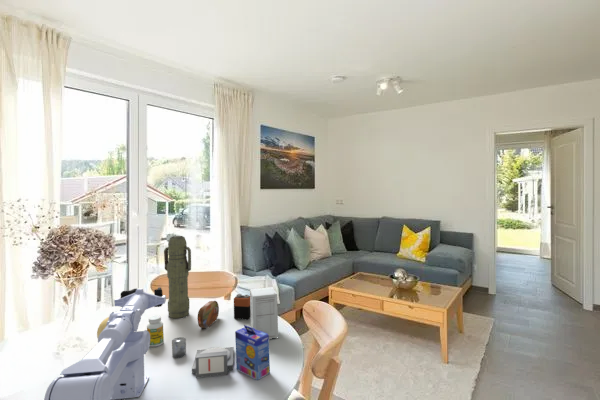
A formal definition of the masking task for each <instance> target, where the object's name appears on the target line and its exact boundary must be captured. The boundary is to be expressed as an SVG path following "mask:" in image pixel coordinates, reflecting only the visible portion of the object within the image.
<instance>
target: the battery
mask: <svg viewBox="0 0 600 400" xmlns="http://www.w3.org/2000/svg"><path fill="white" fill-rule="evenodd" d="M233 319H234V320H245V319H246V321H248V319H249V320H251V310H250V295H249V294H245V295H242V294H241V293H237V294H236V296H235V297H234V298H233Z"/></svg>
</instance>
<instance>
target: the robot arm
mask: <svg viewBox="0 0 600 400" xmlns="http://www.w3.org/2000/svg"><path fill="white" fill-rule="evenodd" d="M153 291H154V294H152V293H150V292H145V290H144V288H133V289H129V290H123V291H121V293H120V297H116V298H115V299H114V300H113V302H114V303H113V304H114V307H119V308H120V307H121V308H120V310H119V311H118V310H117V311H112V312H110V313H109V315H108V317H109V319H108V322H107V324H106V325H107V326H106V327H105V329H104V330H103V331H102V332H101V333H100V335H99V337H98V338H97V343H96V344H95V345H94V347H93V348H91V350H89V352H87V353H86V355H84V357H82V359H80V360H79V361H77V362H75V363H73V364H70V366H68V367H66V368H63V370H62V371H61V373H60V374H59V375H61V376H57V377H55V378H54V379H53V380H52V381H51V382H50V384H49V385H48V387H47V389H46V392H45V395H44V400H121V399H122V400H123V399H133V398H139V397H140V396H141V395H142V393H143V391H144V389H145V386H146V385H147V383H148V381H149V379H150V376H149V375H147V376H146V375H145V355H146V354H147V353H148V351H149V349H150V333H149V332H148V331H147V329H145V330H142V331H141V330H139V331H138V328H139V325H140V322H141V319H142V316H143V314H144V313H145V312H146V311H147V310H149V309H151V308H160V307H162V306H163V305H164V304H165V303H166V302H167V295H164V294H163V288H162V287H161V286H160V287H157V289H156V288H155V289H154V290H153Z"/></svg>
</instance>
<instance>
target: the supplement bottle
mask: <svg viewBox="0 0 600 400" xmlns="http://www.w3.org/2000/svg"><path fill="white" fill-rule="evenodd" d="M161 320H162V317H161V315H152V316H150V317H148V324H147V326H146V330H147V331H148V332H149V333H150V346H149V348H150V347H152V348H155V347H159V346H161V345H163V343H164V341H165V339H164V323H163V321H161Z"/></svg>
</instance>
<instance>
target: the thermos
mask: <svg viewBox="0 0 600 400" xmlns="http://www.w3.org/2000/svg"><path fill="white" fill-rule="evenodd" d="M187 244H188V243H187V240H186V237H185V236H183V235H173V236H171V237H169V240H168V244H167V247H165V248H164V250H163V255H164V256H163V257H164V258H163V259H164V270H165V271H166V274H167V276H166V277H167V279H168V300H167V312H168V315H167V317H168V319H171V320H182V319H184V318H187V317H189V315H190V297H189V296H188V295H189V286H188V285H189V283H188V280H189V279H188V277H189V272H191V271H192V249H191V248H190V246H187Z"/></svg>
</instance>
